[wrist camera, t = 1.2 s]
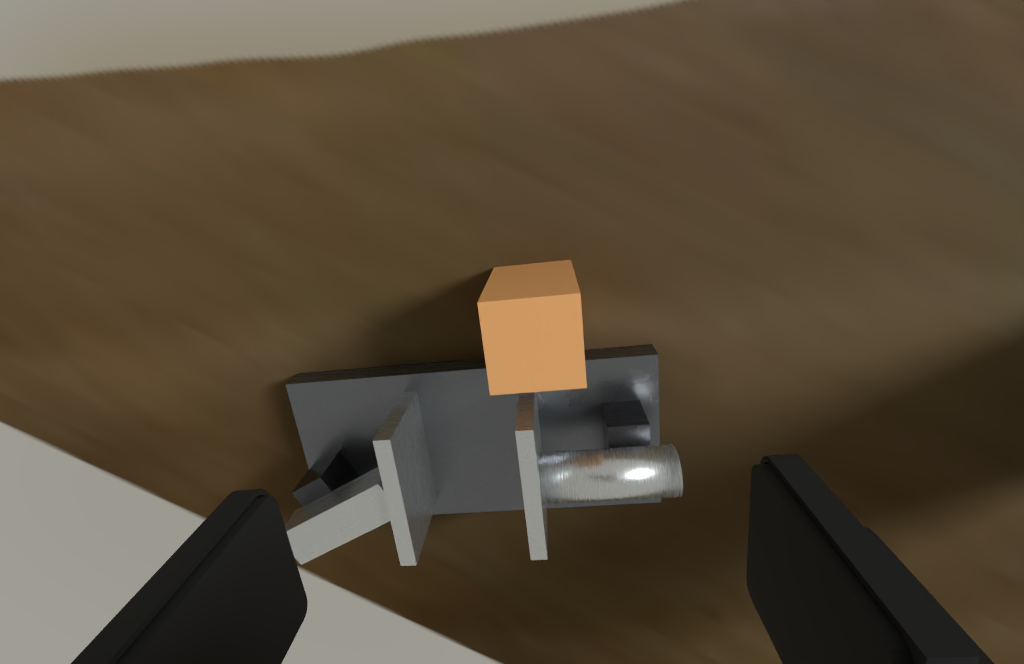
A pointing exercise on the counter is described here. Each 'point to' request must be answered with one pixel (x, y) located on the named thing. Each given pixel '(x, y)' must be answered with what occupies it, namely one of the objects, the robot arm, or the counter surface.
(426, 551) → the counter surface
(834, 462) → the counter surface
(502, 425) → the shaft stand
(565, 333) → the orange block
